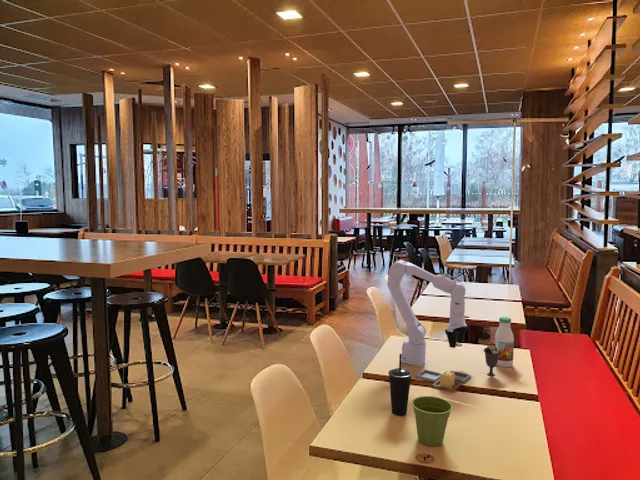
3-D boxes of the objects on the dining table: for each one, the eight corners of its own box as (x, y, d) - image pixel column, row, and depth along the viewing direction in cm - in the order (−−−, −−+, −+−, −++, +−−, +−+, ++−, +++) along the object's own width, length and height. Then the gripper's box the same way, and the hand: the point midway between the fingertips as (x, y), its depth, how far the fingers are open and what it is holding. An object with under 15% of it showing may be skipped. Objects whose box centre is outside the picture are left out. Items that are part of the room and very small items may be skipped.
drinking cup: (412, 409, 171) (414, 351, 169) (408, 419, 164) (410, 359, 162) (389, 406, 173) (391, 349, 171) (385, 416, 166) (386, 356, 164)
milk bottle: (490, 364, 214) (492, 318, 212) (498, 360, 220) (500, 314, 218) (508, 369, 209) (510, 321, 207) (515, 364, 215) (518, 317, 212)
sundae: (497, 373, 205) (499, 336, 203) (501, 379, 198) (503, 341, 196) (480, 372, 205) (482, 336, 204) (484, 378, 199) (485, 341, 197)
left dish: (415, 378, 198) (415, 375, 198) (424, 372, 205) (424, 369, 204) (435, 383, 194) (435, 379, 193) (443, 377, 200) (443, 373, 200)
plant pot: (425, 454, 143) (427, 416, 141) (402, 435, 154) (403, 399, 152) (460, 446, 147) (461, 408, 146) (435, 428, 158) (436, 393, 157)
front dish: (432, 388, 189) (432, 384, 189) (440, 381, 195) (441, 378, 195) (453, 393, 184) (453, 389, 184) (461, 386, 191) (461, 382, 191)
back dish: (442, 380, 197) (443, 376, 197) (450, 374, 203) (450, 370, 203) (463, 385, 192) (463, 381, 192) (470, 378, 199) (470, 374, 199)
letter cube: (439, 386, 189) (440, 373, 189) (444, 383, 192) (444, 370, 192) (450, 389, 187) (450, 375, 186) (454, 385, 190) (454, 372, 190)
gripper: (460, 317, 200) (458, 351, 202) (472, 310, 212) (471, 342, 214) (443, 315, 205) (441, 348, 206) (456, 308, 216) (455, 339, 218)
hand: (456, 344), depth 210 cm, fingers open, 7 cm apart
